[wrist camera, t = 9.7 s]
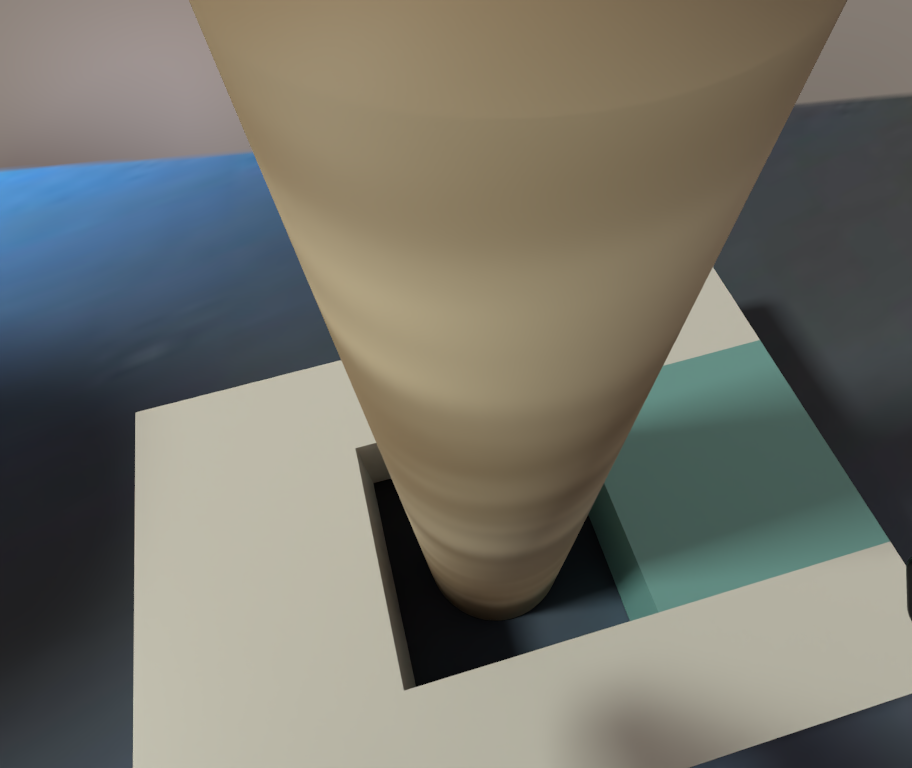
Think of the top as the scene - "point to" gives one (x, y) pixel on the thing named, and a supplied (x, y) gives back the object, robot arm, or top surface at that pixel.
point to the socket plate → (534, 673)
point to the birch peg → (508, 229)
